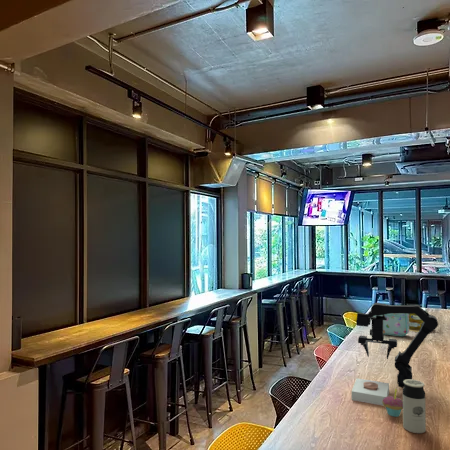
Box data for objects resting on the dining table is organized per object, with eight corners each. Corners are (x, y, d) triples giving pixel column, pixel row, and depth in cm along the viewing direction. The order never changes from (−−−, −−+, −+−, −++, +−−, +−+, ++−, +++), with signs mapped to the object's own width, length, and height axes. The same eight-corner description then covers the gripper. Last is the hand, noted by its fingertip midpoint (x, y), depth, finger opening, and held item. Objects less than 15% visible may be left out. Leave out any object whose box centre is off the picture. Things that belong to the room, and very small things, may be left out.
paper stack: (429, 334, 299) (428, 312, 300) (395, 328, 316) (395, 307, 316) (437, 328, 317) (437, 307, 318) (405, 323, 334) (405, 303, 334)
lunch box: (369, 333, 301) (369, 305, 302) (373, 330, 310) (372, 303, 310) (407, 338, 286) (407, 309, 287) (409, 335, 295) (409, 306, 295)
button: (378, 391, 186) (378, 383, 186) (377, 396, 180) (377, 387, 180) (364, 389, 189) (364, 380, 189) (362, 394, 183) (362, 385, 183)
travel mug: (401, 422, 158) (401, 377, 158) (423, 425, 156) (422, 380, 156) (404, 432, 150) (404, 385, 151) (427, 435, 148) (427, 387, 149)
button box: (389, 391, 189) (389, 383, 189) (386, 406, 173) (386, 397, 173) (356, 386, 196) (356, 378, 196) (351, 399, 180) (351, 391, 180)
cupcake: (409, 417, 163) (408, 388, 163) (391, 420, 160) (391, 390, 161) (394, 408, 171) (394, 380, 171) (378, 411, 168) (377, 382, 169)
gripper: (397, 326, 207) (397, 356, 206) (360, 322, 215) (360, 351, 214) (396, 330, 197) (397, 362, 196) (357, 327, 205) (358, 357, 204)
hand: (377, 357), depth 203 cm, fingers open, 9 cm apart
